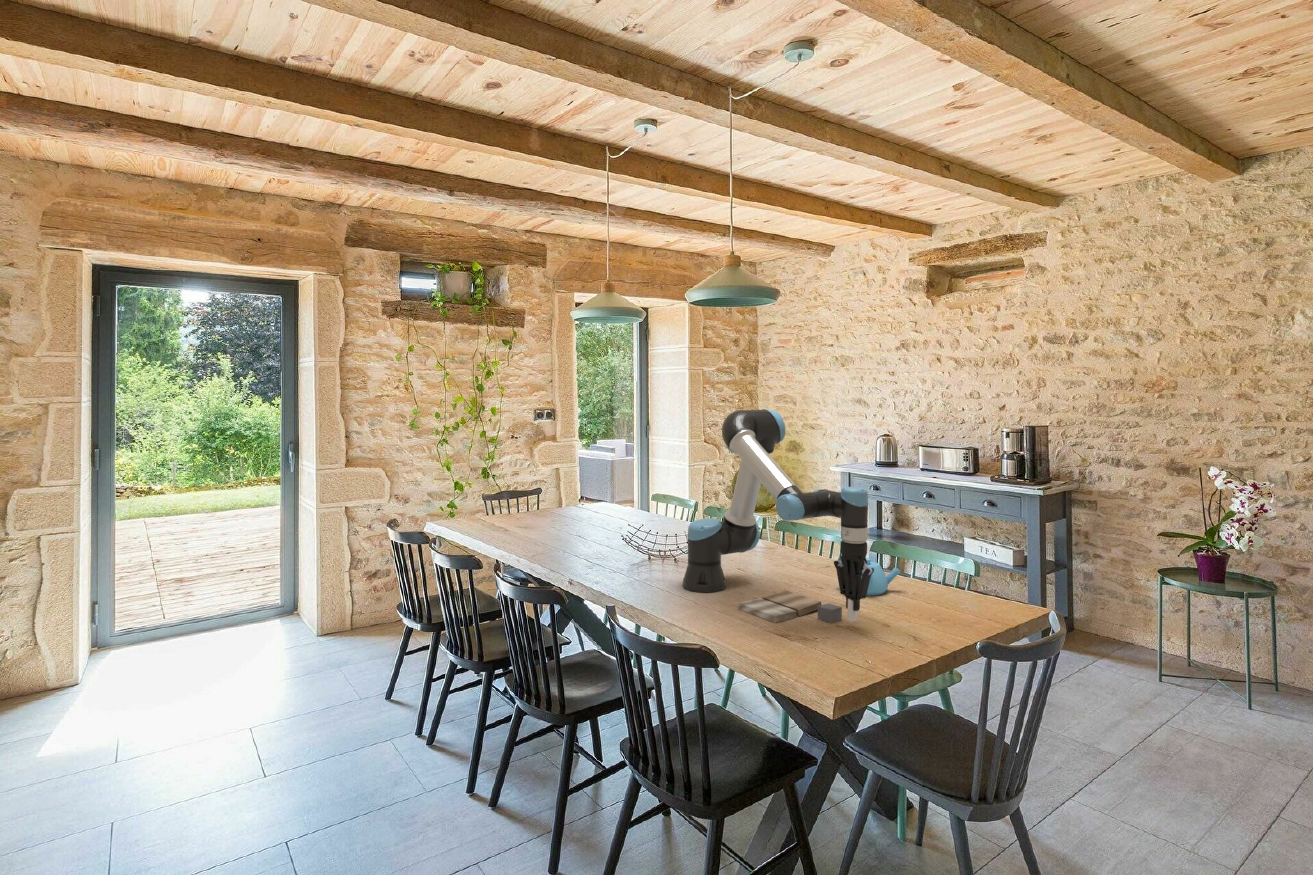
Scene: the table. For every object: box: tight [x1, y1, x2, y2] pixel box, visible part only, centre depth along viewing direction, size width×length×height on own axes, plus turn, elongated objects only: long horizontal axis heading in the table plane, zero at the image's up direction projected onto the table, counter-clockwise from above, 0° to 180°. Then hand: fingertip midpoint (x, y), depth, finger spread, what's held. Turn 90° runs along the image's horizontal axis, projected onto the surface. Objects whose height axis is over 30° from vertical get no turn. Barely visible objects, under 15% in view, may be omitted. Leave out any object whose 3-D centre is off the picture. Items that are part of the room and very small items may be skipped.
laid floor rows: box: [738, 597, 797, 624], centre depth 217 cm, size 16×9×2 cm, turn 35°
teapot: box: [861, 557, 902, 596], centre depth 241 cm, size 15×17×11 cm
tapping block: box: [817, 602, 843, 624], centre depth 211 cm, size 5×5×4 cm
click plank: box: [761, 589, 822, 617], centre depth 223 cm, size 16×10×2 cm, turn 35°
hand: (852, 620), depth 204 cm, fingers closed
